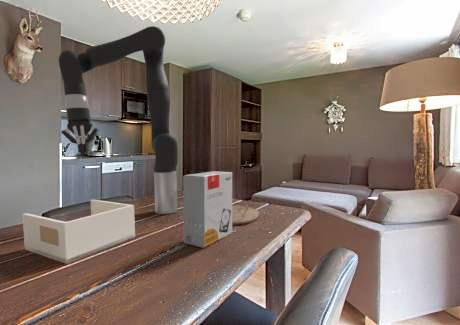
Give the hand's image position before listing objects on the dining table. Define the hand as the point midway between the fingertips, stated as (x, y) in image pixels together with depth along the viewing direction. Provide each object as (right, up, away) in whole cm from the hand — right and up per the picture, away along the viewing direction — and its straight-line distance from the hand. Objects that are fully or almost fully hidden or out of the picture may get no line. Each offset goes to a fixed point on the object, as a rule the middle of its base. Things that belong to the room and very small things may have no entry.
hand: (83, 154), depth 100 cm
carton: (+12, -27, -22) cm, 37 cm away
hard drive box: (+49, -27, -19) cm, 59 cm away
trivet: (+55, -25, +4) cm, 60 cm away
